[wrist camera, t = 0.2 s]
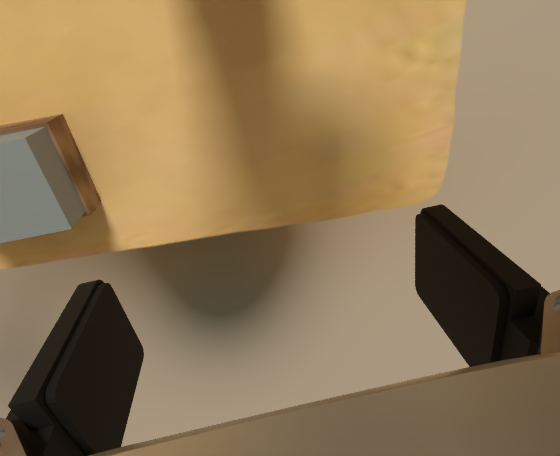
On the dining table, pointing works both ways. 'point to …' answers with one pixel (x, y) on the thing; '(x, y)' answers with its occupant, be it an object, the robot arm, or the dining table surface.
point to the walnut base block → (63, 155)
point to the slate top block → (34, 187)
